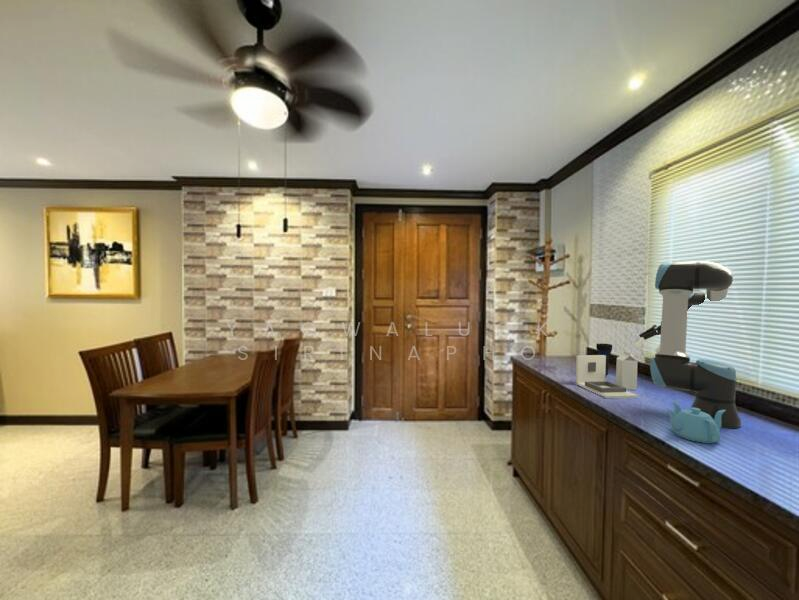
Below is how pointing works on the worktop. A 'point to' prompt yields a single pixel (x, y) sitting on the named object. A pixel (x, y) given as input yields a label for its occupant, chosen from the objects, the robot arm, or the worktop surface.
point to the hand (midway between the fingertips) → (645, 349)
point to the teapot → (695, 424)
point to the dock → (598, 377)
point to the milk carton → (626, 371)
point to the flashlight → (605, 353)
